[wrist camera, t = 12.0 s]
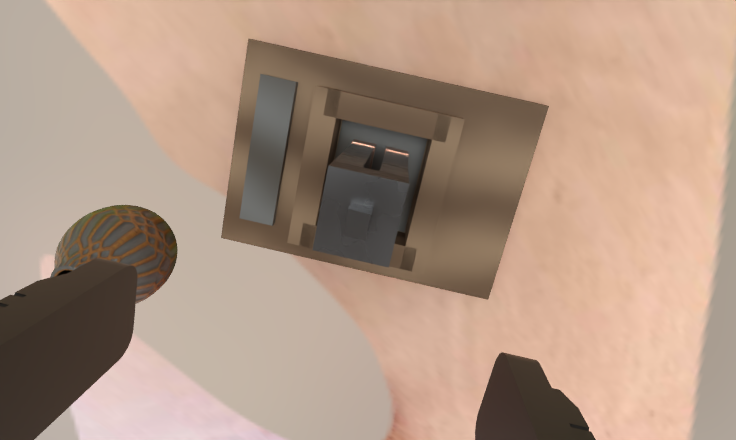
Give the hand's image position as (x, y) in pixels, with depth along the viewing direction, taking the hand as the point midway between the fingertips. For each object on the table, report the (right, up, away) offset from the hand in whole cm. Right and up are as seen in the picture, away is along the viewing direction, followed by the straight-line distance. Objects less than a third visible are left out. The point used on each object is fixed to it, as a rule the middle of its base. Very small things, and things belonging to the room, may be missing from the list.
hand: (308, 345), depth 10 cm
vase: (-16, +1, +26) cm, 30 cm away
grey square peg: (+2, +6, +22) cm, 23 cm away
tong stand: (+2, +6, +23) cm, 24 cm away
